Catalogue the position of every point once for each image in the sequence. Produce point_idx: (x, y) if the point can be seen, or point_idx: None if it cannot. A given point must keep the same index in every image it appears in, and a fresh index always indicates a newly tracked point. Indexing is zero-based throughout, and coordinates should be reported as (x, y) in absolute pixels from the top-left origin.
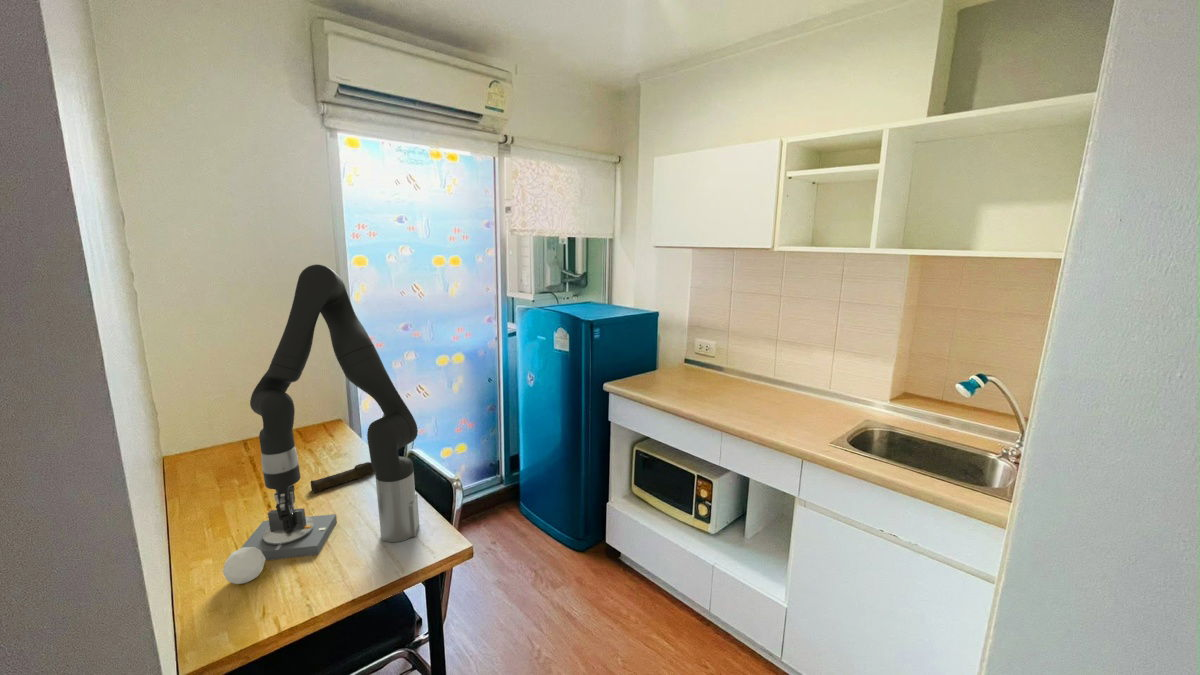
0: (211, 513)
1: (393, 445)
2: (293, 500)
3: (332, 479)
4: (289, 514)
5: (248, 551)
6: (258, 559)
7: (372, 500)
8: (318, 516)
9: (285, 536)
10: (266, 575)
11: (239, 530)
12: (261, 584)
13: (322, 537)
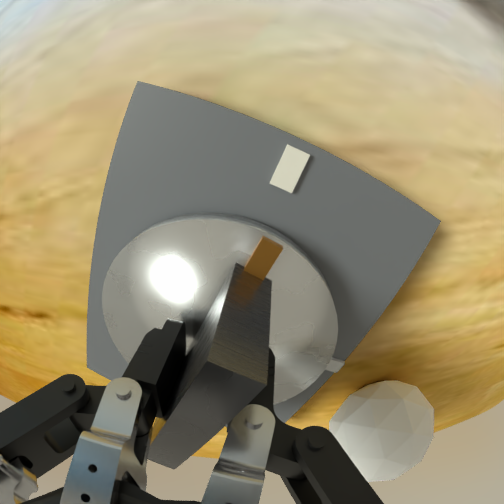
0: (32, 389)
1: None
2: (122, 453)
3: None
4: (356, 473)
5: (411, 464)
6: (428, 423)
7: None
8: (114, 179)
9: (291, 357)
10: (398, 359)
11: (94, 383)
12: (426, 364)
13: (380, 181)
